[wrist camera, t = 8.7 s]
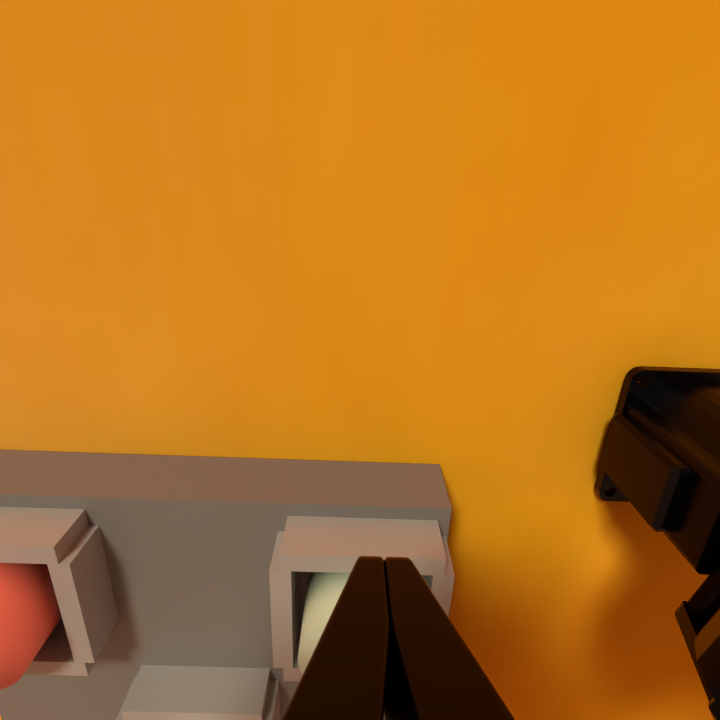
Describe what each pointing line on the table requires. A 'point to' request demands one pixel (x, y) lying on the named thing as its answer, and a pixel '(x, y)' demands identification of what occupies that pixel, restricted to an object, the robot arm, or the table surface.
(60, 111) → the table surface
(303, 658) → the sage button
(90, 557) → the control panel
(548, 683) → the table surface
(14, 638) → the red button
